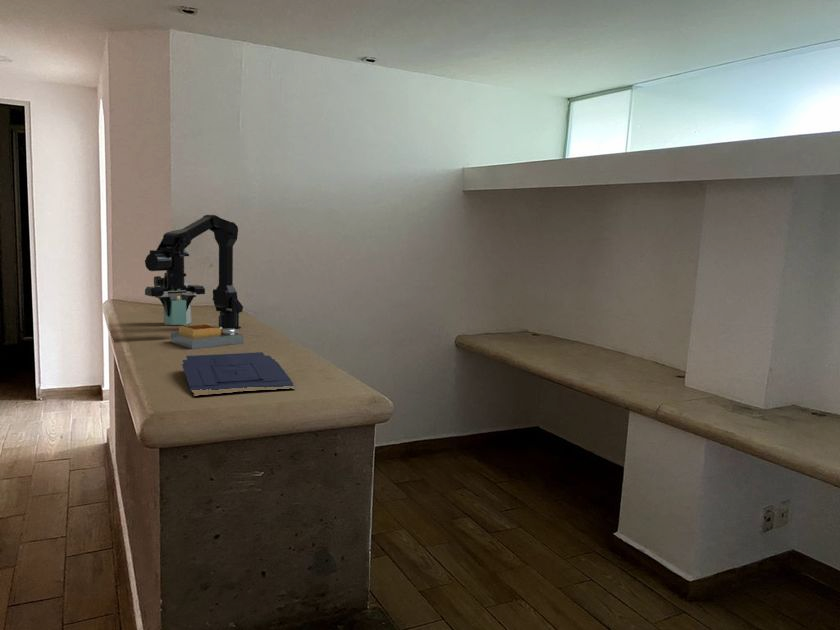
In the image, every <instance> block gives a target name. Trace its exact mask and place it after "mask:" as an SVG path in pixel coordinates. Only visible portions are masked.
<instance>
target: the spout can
mask: <svg viewBox="0 0 840 630" xmlns="http://www.w3.org/2000/svg"><path fill="white" fill-rule="evenodd" d="M165 316H166V323H167V324H171V325H170V326H178V325H177V324H186V300H182V299H180V296H175V299H170V316H169V317H168V316H167V315H166V312H165Z"/></svg>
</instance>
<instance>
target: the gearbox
mask: <svg viewBox="0 0 840 630" xmlns="http://www.w3.org/2000/svg"><path fill="white" fill-rule="evenodd" d="M178 327H179V328H178V332H176V331H175V332H170V343H173V344H175V345H179V346H182V347H185V348H188V349H189V350H190V349H191V350H195V349H206V348H213V347H214V348H215V347H222V346H231V345H241V344H244V334H243V333H241V332H236V331H237V330H236V329H237V328H235V329H234V328H222V327H220V326H219V325H217V326H216V325H212V324H209V323H202V324H201V323H200V324H187V325H178Z"/></svg>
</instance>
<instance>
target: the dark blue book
mask: <svg viewBox="0 0 840 630" xmlns="http://www.w3.org/2000/svg"><path fill="white" fill-rule="evenodd" d="M185 357H186V358H185V359H182V364H181V365H182V369H183V372H184V375H185V378H186V380H187V384H188V387H189V390H190V391H191V390H200V389H202V390H206V389H208V390H209V389H211V390H219V389H229V388H230V389H231V388H243V387H244V388H247V387H265V388H266V387H283V386H294V387H295V385H294V383H293V381H292V379H291V378H290V377H289V376H288V374H287V373H286V371H284V369H283V368H282V366H281V365H280V363H279V362H277V361H276V360H275V359H274V358H272V356H270V355H265V354H264V353H263V351H259V352H256V351H255V352H240V353H222V354H221V353H219V354H201V355H200V354H199V355H185Z"/></svg>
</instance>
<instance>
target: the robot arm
mask: <svg viewBox="0 0 840 630" xmlns="http://www.w3.org/2000/svg"><path fill="white" fill-rule="evenodd" d="M207 231H210V232H212V233H213V234H214V235H213V236H214V237H213V238H214V240H215V242H216V243H217V246H218V285H217V286H216V288H214V289H213V290H212V301H213V304H214V307H215V310H216V312H219V316H218V326H220V327H222V328H234V329H241V328H242V327H241V325H240V323H239V322H240V316H239V315H240V313H243V309H244V306H243V304H242V303H241V302H240V301H239V299H238V293H237V289H236V288H235V286H234V285H233V283H234V282H233V280H234V279H233V276H234V275H233V274H234V273H233V271H234V262H233V261H234V260H233V259H234V245H235V244H236V242H237V240H238V235H239V227H238V225H237V224H236V223H235V222H234V221H229V220H227V219H225V218H221V217H220V216H218V215H216V214H205V215H203V216H202V217H201V218H199V219H198V220H195V221H194V222H191V223H190V224H189V225H187V226H184V227H183V228H180V229H176V230H170V231H167V232H165V233H164V234H163V235H162V236H163V238H162V239H161V241H160V243H159V244H158V247H157V248H156V249H150V250H149V254H147V255H146V257H145V260H144V265H145V268H146V269H147V271H150V272H162V271H163V272H164V276H163V277H162V276H160V275H155V276H154V277H153V285H154V286H146V288H145V290H144V295H145V296H148V297H152V298H157V299H158V300H159V301H160V302H161V304H162V306H163V307H164V309H163V311H164V310H165V312H166V315H167V316H168V317H169V316H170V297H168V294H170V293H183V294H181V297H182V300H186V311H187V309H188V307H189V305H190V306H191V303H192V301H193V300H194V298H197V295H206V288H205V287H204V286H203V285H199V284H189V285H188V286H187V287H186V285H185V283H186V282H185V277H187V273H185V257H189V256H190V254H189V253H188V252H187V251H186V250H185V249H186V248H188V247H189V246H190V245H191V243H192V240H194V239H195V238H197V237H198V236H201V235H202V234H204V233H205V232H207ZM165 271H166V272H165ZM172 289H174V290H172Z"/></svg>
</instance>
